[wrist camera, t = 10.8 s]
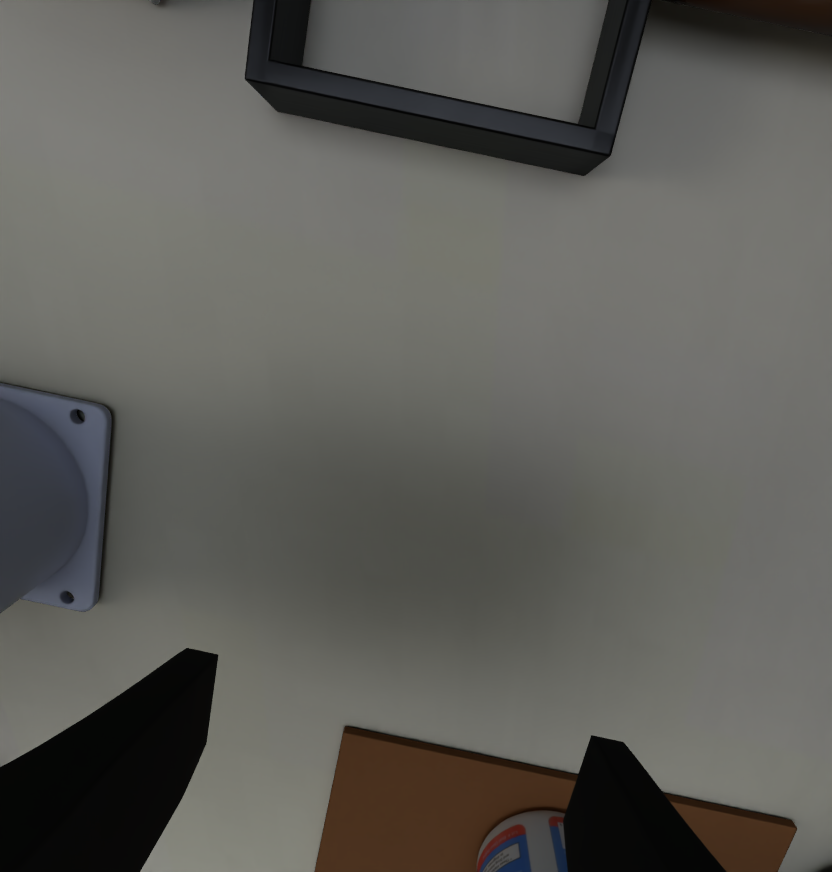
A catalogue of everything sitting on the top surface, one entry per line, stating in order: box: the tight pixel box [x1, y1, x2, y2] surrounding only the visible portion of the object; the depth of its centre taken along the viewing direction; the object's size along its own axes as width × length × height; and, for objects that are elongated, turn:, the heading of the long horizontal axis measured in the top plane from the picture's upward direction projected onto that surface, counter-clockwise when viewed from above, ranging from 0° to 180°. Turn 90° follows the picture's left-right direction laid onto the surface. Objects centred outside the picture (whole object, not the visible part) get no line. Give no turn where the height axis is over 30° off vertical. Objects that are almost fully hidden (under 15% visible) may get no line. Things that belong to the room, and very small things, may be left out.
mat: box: [315, 726, 797, 872], centre depth 24 cm, size 18×8×1 cm, turn 78°
